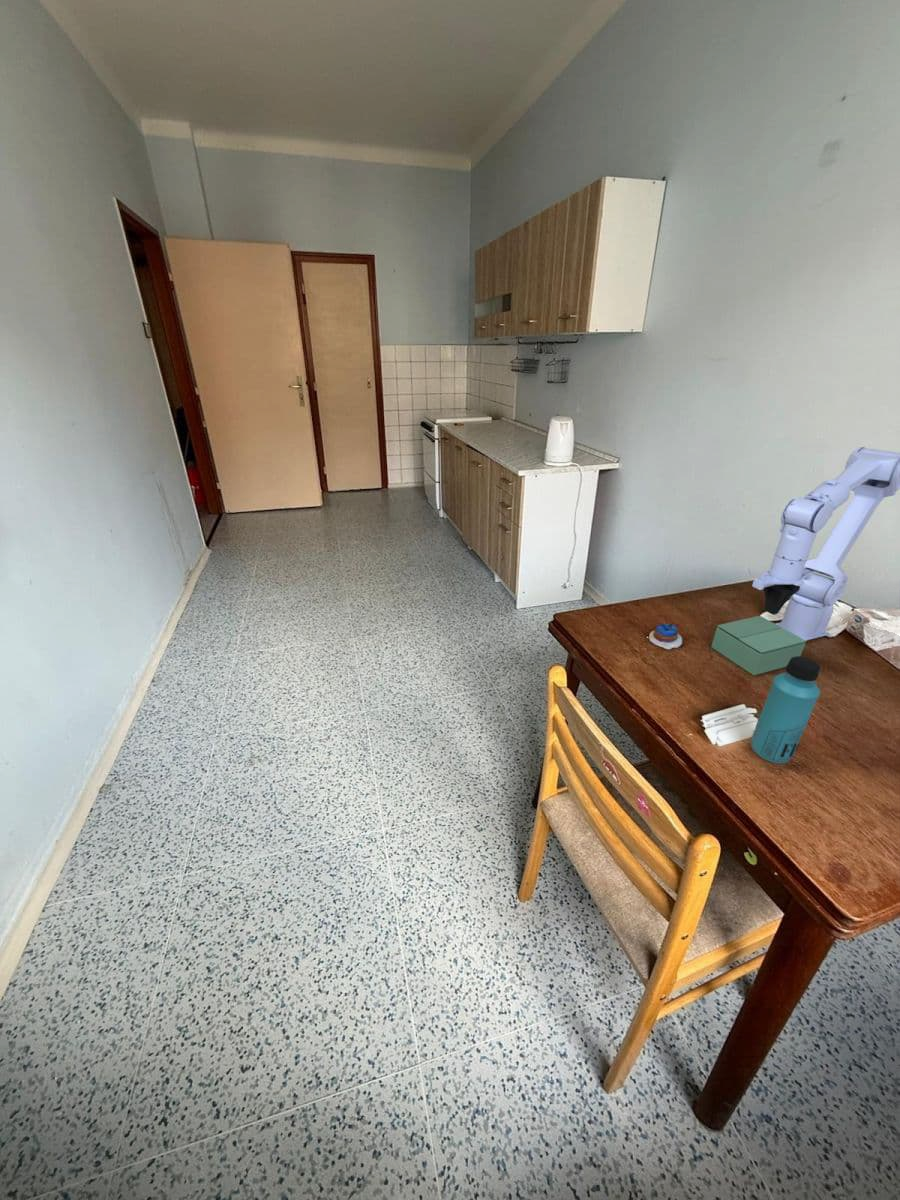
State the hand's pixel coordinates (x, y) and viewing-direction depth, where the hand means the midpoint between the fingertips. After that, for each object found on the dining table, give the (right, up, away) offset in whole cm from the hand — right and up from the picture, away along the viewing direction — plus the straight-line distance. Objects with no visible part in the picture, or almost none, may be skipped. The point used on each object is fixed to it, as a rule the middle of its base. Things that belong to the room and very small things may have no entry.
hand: (771, 612), depth 105 cm
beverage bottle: (-16, -25, -23) cm, 38 cm away
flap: (-1, -6, -2) cm, 7 cm away
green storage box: (-2, -10, +3) cm, 11 cm away
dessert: (-19, -7, +10) cm, 23 cm away
